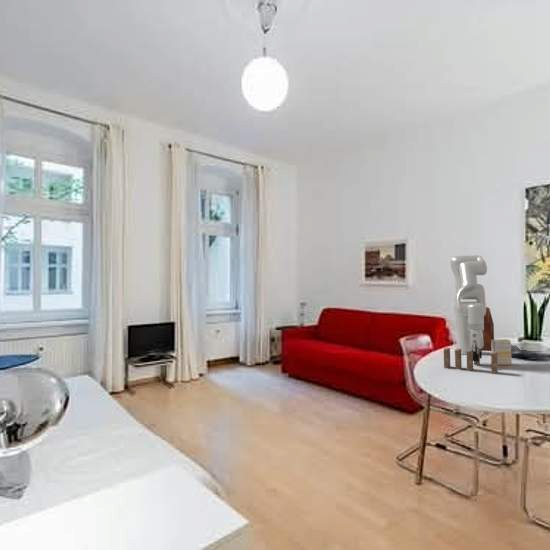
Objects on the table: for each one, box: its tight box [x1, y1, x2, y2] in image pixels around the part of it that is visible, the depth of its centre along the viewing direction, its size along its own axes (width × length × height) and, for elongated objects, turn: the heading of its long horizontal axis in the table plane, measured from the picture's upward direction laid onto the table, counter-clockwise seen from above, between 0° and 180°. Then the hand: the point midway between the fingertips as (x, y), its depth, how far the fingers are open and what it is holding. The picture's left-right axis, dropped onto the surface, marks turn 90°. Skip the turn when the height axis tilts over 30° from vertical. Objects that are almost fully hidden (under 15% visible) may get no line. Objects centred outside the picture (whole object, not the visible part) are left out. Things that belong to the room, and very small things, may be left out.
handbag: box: [481, 306, 495, 351], centre depth 254 cm, size 10×19×35 cm, turn 163°
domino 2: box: [454, 349, 463, 370], centre depth 202 cm, size 2×5×10 cm, turn 143°
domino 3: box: [466, 350, 474, 372], centre depth 198 cm, size 2×5×10 cm, turn 143°
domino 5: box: [490, 351, 499, 375], centre depth 192 cm, size 2×5×10 cm, turn 143°
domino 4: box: [473, 347, 481, 367], centre depth 208 cm, size 2×5×10 cm, turn 143°
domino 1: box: [443, 347, 451, 369], centre depth 205 cm, size 2×5×10 cm, turn 143°
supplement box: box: [491, 339, 513, 366], centre depth 208 cm, size 8×5×13 cm, turn 84°
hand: (476, 359), depth 208 cm, fingers open, 7 cm apart
